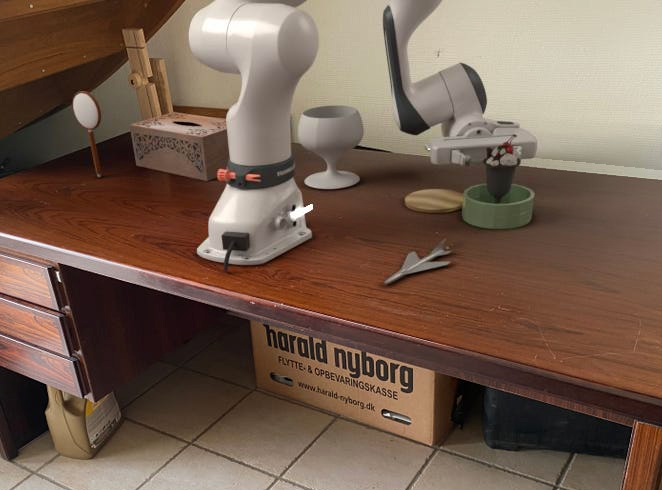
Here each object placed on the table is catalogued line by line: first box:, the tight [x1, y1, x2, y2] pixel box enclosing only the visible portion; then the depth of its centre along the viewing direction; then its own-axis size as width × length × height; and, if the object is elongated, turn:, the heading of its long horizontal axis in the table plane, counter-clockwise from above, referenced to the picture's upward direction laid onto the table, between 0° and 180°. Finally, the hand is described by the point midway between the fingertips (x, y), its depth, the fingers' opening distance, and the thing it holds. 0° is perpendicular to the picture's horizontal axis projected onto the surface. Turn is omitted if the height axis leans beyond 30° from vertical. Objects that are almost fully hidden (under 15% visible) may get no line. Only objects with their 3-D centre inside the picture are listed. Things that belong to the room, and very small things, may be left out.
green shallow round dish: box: [461, 182, 535, 230], centre depth 133 cm, size 12×13×4 cm
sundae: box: [482, 134, 522, 204], centre depth 130 cm, size 7×7×15 cm
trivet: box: [404, 188, 463, 214], centre depth 143 cm, size 12×12×1 cm
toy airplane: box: [383, 238, 453, 286], centre depth 118 cm, size 8×21×2 cm, turn 135°
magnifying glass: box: [71, 90, 102, 178], centre depth 170 cm, size 9×2×20 cm, turn 57°
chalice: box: [297, 104, 365, 190], centre depth 155 cm, size 14×14×15 cm
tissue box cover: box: [129, 111, 230, 182], centre depth 175 cm, size 26×14×10 cm, turn 48°
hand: (491, 160), depth 135 cm, fingers open, 8 cm apart
